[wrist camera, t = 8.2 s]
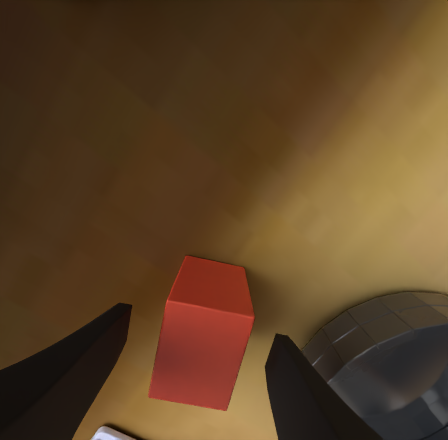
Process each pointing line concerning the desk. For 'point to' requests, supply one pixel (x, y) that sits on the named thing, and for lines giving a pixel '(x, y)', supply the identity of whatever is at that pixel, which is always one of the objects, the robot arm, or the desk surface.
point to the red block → (203, 335)
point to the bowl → (390, 363)
